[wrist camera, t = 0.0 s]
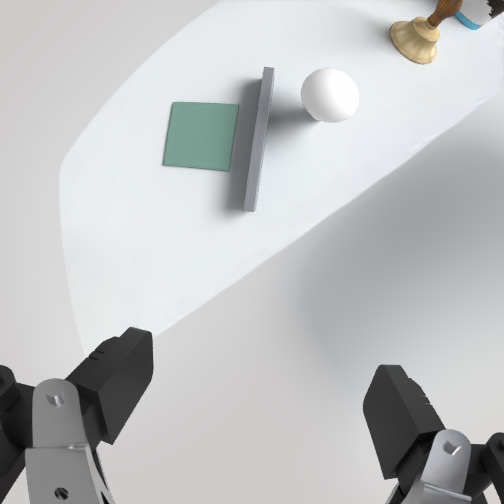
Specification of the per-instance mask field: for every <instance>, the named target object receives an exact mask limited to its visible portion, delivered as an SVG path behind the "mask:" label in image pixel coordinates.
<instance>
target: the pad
mask: <svg viewBox="0 0 504 504" xmlns="http://www.w3.org/2000/svg"><path fill="white" fill-rule="evenodd" d="M238 108H239V105H233V104H219V103H199V102H174V103H173V108H172V114H171V119H170V125H169V131H168V137H167V144H166V151H165V158H164V165H171V166H184V167H195V168H206V169H215V170H224V171H229V168H230V161H231V154H232V147H233V140H234V133H235V127H236V120H237V114H238Z"/></svg>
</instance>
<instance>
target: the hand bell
mask: <svg viewBox="0 0 504 504" xmlns="http://www.w3.org/2000/svg"><path fill="white" fill-rule="evenodd" d="M462 3H463V0H439V2H438V4H437V7H436V10H435V12H434V13H433V14H432V15H431V16H430V17H428V18H427V19H426V18H423V17H416V18H415V19H413V20H412V21H410V22H408V21H400V22H396V23H395V24H393V25H392V27H391V29H390V36H391V40H392V42H393V44H394V45H395V47H396V48H397V49H398V51H399V52H400V53H401V54H403V55H404V56H405V57H406V58H408V59H409V60H411V61H414V62H416V63H420V64H428V63H430V62H432V61H433V60H434V59H435V56H436V46H435V43H436V42H437V40H438V39H439V36H440V35H439V31H438V29H437V26H438V25H439V24H440V23H441V22H442V20H444V19H445V18H448V17H451V16H453V15H454V14H456V13H457V12H458V11H459V10H460V8H461V6H462Z"/></svg>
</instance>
